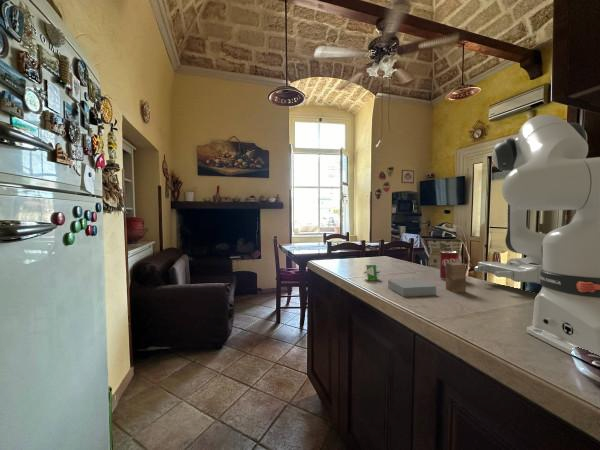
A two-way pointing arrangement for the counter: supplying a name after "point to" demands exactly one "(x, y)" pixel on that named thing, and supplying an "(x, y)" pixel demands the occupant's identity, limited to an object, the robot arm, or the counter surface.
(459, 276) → the pillar
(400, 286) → the slab
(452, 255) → the soda can
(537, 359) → the counter surface
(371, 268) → the geometric puzzle
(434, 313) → the counter surface
